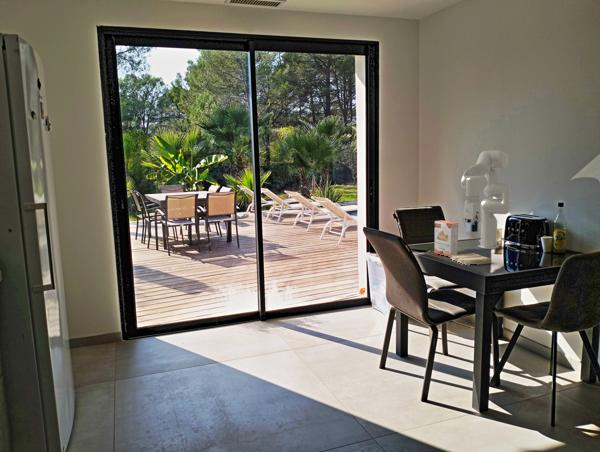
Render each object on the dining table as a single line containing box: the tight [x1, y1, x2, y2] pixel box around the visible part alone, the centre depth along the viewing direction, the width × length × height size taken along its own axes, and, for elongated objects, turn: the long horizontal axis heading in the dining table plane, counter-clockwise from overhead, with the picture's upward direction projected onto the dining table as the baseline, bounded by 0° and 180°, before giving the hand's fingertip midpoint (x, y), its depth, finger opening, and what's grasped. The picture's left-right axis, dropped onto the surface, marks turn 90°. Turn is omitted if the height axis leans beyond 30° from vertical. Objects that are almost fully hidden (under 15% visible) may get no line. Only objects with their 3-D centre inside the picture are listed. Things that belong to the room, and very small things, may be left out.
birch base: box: [449, 252, 492, 266], centre depth 277 cm, size 16×16×2 cm
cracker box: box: [433, 219, 459, 258], centre depth 292 cm, size 14×6×21 cm, turn 27°
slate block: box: [464, 221, 479, 233], centre depth 275 cm, size 5×5×5 cm
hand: (471, 230), depth 275 cm, fingers closed on slate block, 5 cm apart
